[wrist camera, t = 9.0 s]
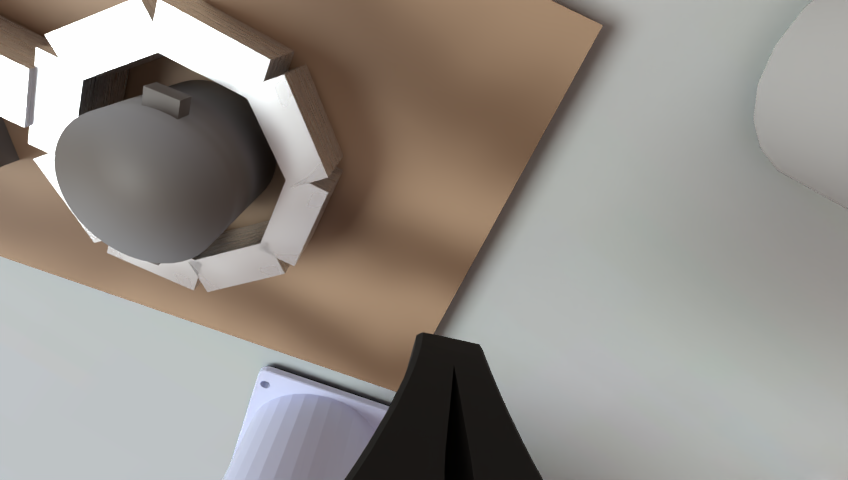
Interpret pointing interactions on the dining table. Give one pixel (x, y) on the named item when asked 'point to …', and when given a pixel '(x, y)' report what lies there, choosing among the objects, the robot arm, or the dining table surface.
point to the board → (263, 179)
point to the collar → (211, 57)
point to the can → (808, 101)
